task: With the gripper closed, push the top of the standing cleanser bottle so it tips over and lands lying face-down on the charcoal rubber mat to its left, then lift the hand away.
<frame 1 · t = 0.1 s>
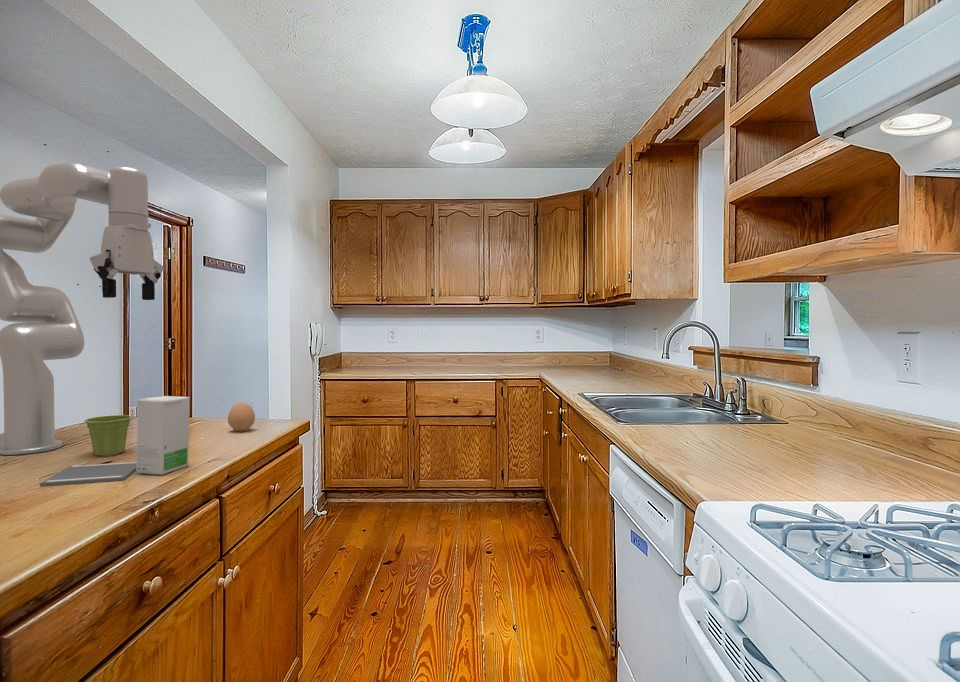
hand: (129, 298, 120), 37 cm above the counter, tool pointing down, fingers open, 9 cm apart
plant pot: (109, 454, 127), on the counter
mat: (95, 474, 109), on the counter
egg: (241, 431, 155), on the counter
skincare box: (162, 470, 113), on the counter
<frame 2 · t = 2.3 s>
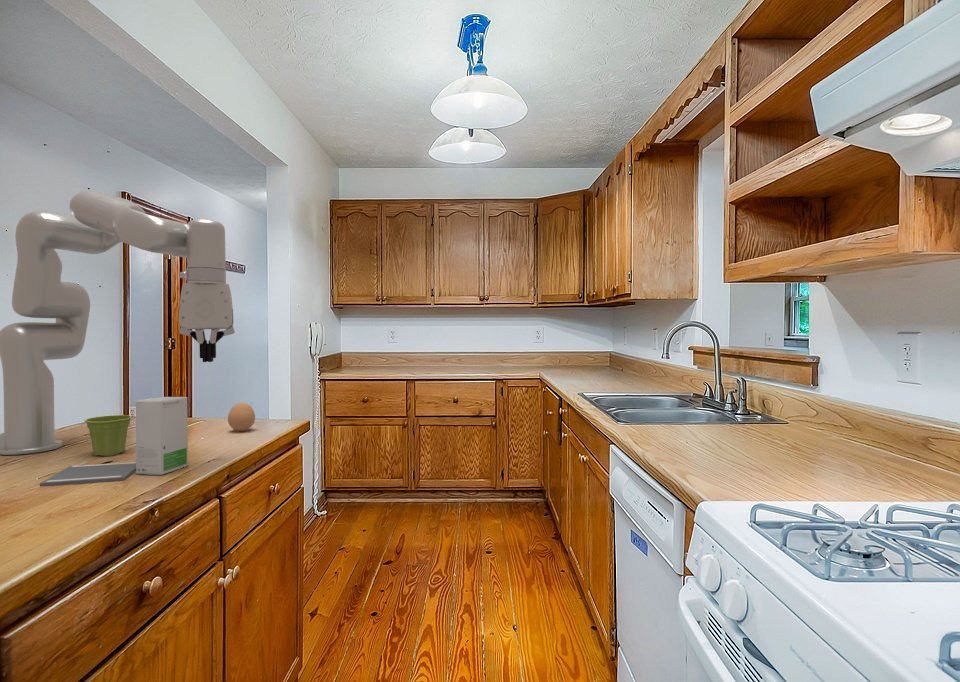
hand: (208, 361, 115), 23 cm above the counter, tool pointing down, fingers closed
nothing on the counter moved.
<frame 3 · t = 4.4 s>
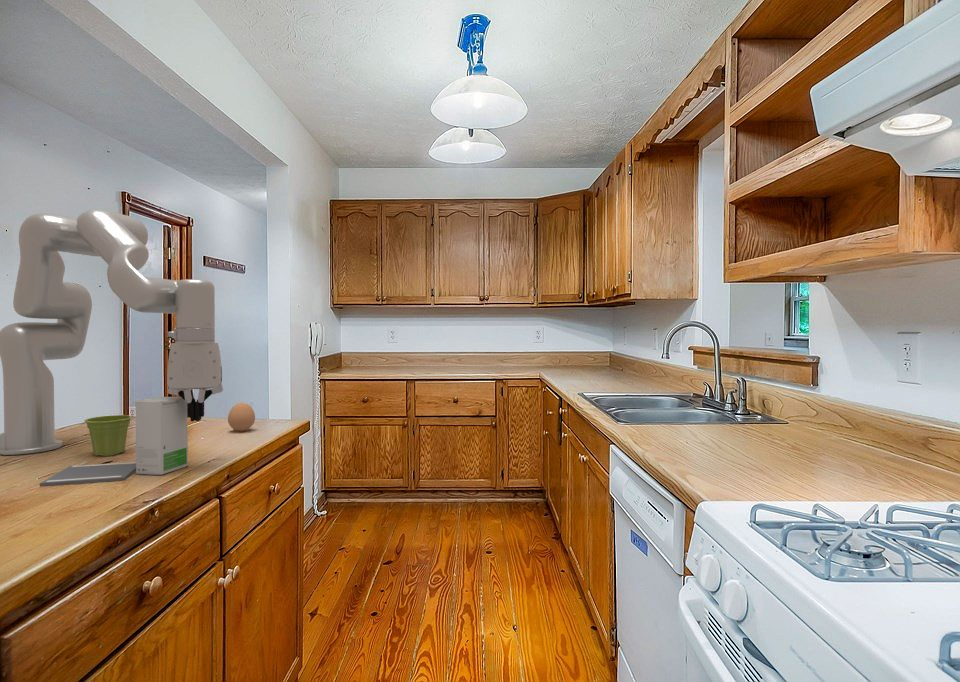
hand: (196, 420, 115), 10 cm above the counter, tool pointing down, fingers closed
skincare box: (162, 470, 113), on the counter, touching gripper
everything else where it was.
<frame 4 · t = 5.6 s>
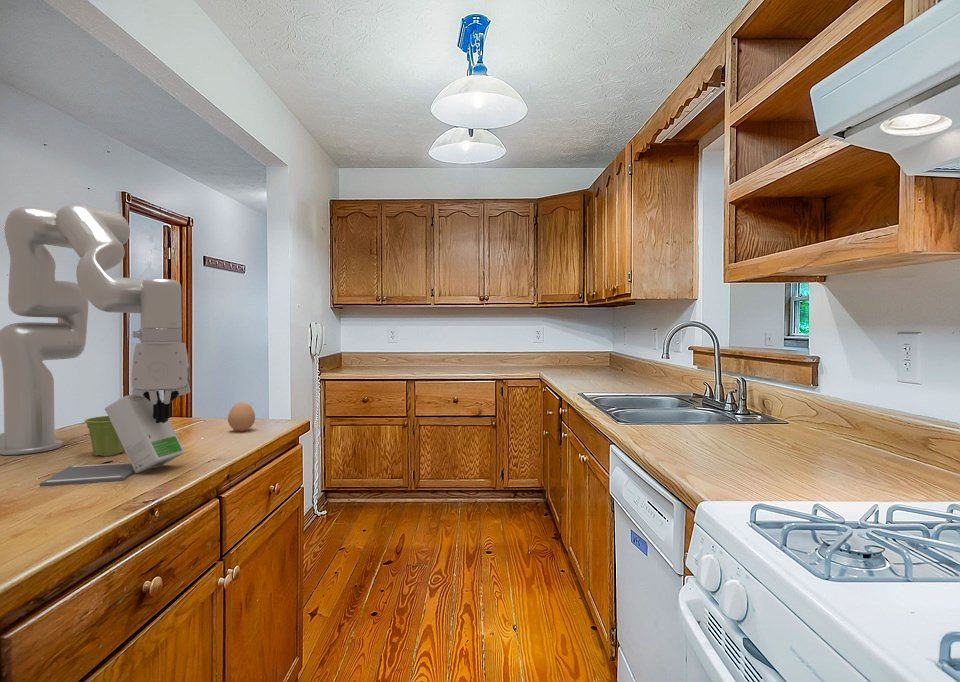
hand: (162, 421, 113), 10 cm above the counter, tool pointing down, fingers closed
skincare box: (161, 464, 113), point 1 cm above the counter
everything else where it was.
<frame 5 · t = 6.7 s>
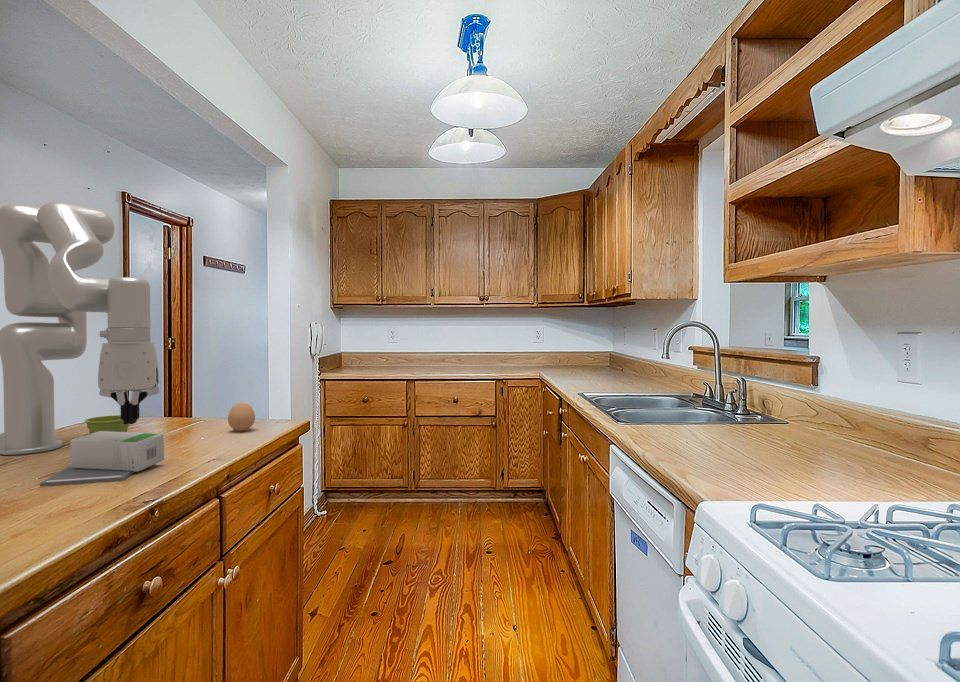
hand: (130, 422, 111), 10 cm above the counter, tool pointing down, fingers closed
skincare box: (152, 452, 113), point 4 cm above the counter, touching mat
everything else where it was.
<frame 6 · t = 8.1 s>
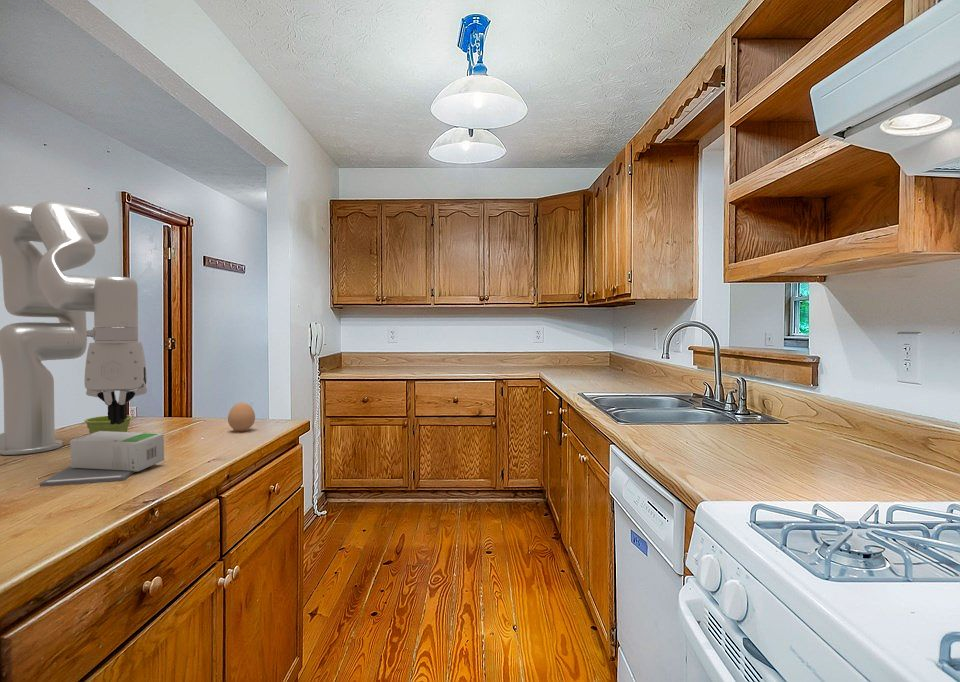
hand: (117, 422, 110), 11 cm above the counter, tool pointing down, fingers closed
nothing on the counter moved.
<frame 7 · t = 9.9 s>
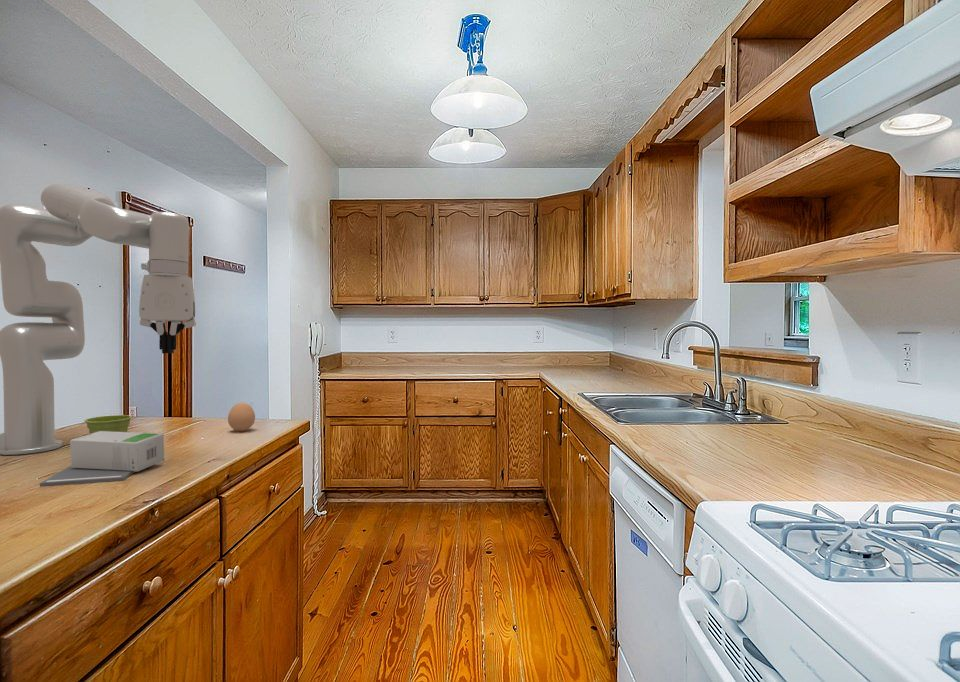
hand: (167, 352, 116), 25 cm above the counter, tool pointing down, fingers closed
nothing on the counter moved.
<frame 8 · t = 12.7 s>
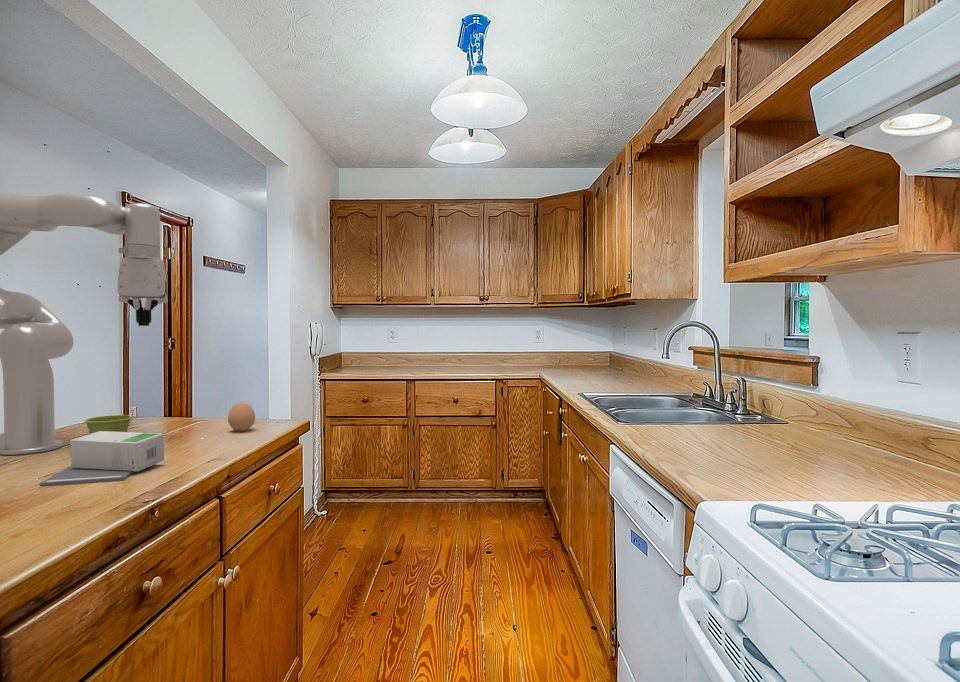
hand: (143, 325, 134), 31 cm above the counter, tool pointing down, fingers closed
nothing on the counter moved.
at the end: skincare box tilted 88°; skincare box inside the target area (6.8 cm from its centre), point 3.7 cm above the counter; skincare box 10.3 cm from the mat (horizontally) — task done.
